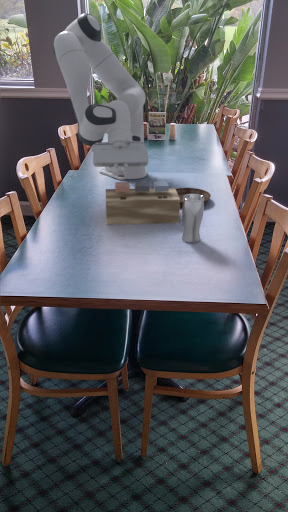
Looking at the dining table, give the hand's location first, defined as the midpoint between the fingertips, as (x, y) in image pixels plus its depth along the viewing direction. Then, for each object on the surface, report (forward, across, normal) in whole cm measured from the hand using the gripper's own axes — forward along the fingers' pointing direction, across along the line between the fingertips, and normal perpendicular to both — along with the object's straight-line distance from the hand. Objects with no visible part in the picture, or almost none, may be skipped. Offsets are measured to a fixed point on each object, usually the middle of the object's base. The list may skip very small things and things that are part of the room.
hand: (121, 176), depth 165 cm
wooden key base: (+13, +7, +8) cm, 17 cm away
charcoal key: (+5, +7, +1) cm, 9 cm away
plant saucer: (+2, +28, +20) cm, 34 cm away
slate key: (+5, +14, +1) cm, 15 cm away
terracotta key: (+5, 0, +1) cm, 5 cm away
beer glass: (+27, +22, -6) cm, 35 cm away
